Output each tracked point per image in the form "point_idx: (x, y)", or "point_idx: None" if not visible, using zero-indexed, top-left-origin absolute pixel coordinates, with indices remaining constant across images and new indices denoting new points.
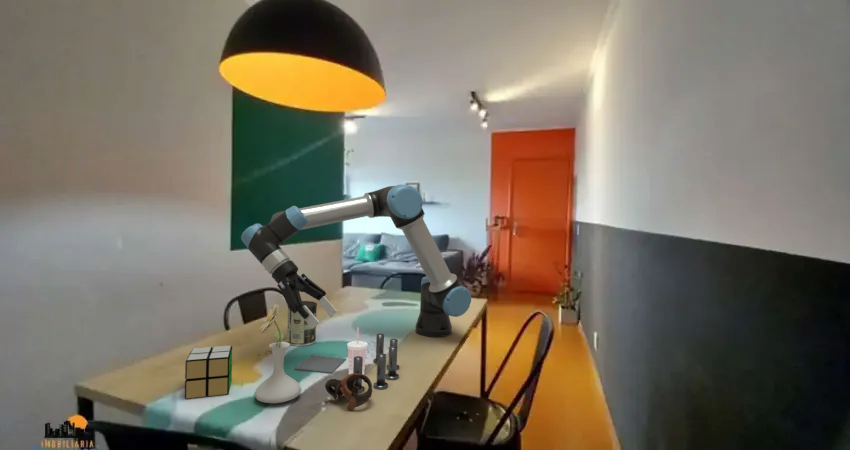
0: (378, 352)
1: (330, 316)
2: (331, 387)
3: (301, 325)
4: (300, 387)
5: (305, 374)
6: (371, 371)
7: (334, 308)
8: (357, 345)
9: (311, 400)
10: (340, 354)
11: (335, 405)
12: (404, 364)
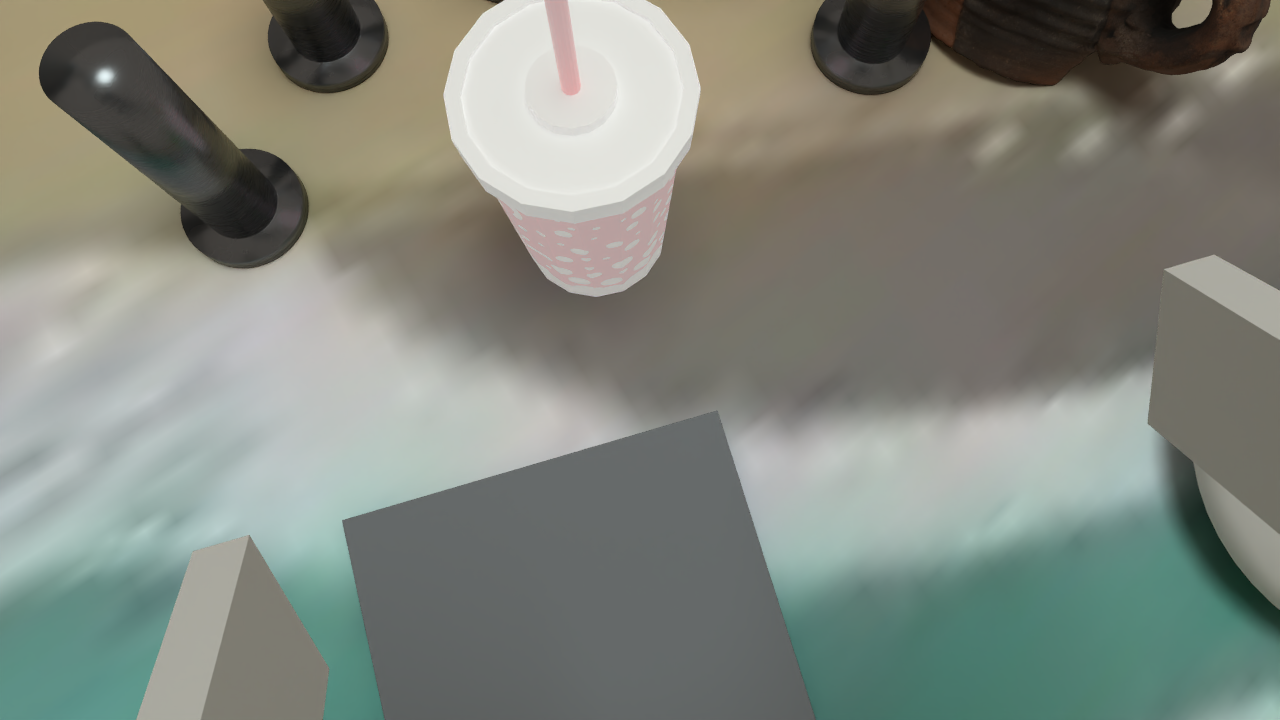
0: (237, 158)
1: (323, 677)
2: (1184, 31)
3: None
4: None
5: (864, 618)
6: None
7: (198, 614)
8: (607, 70)
9: (1205, 217)
10: None
11: None
12: (202, 4)
